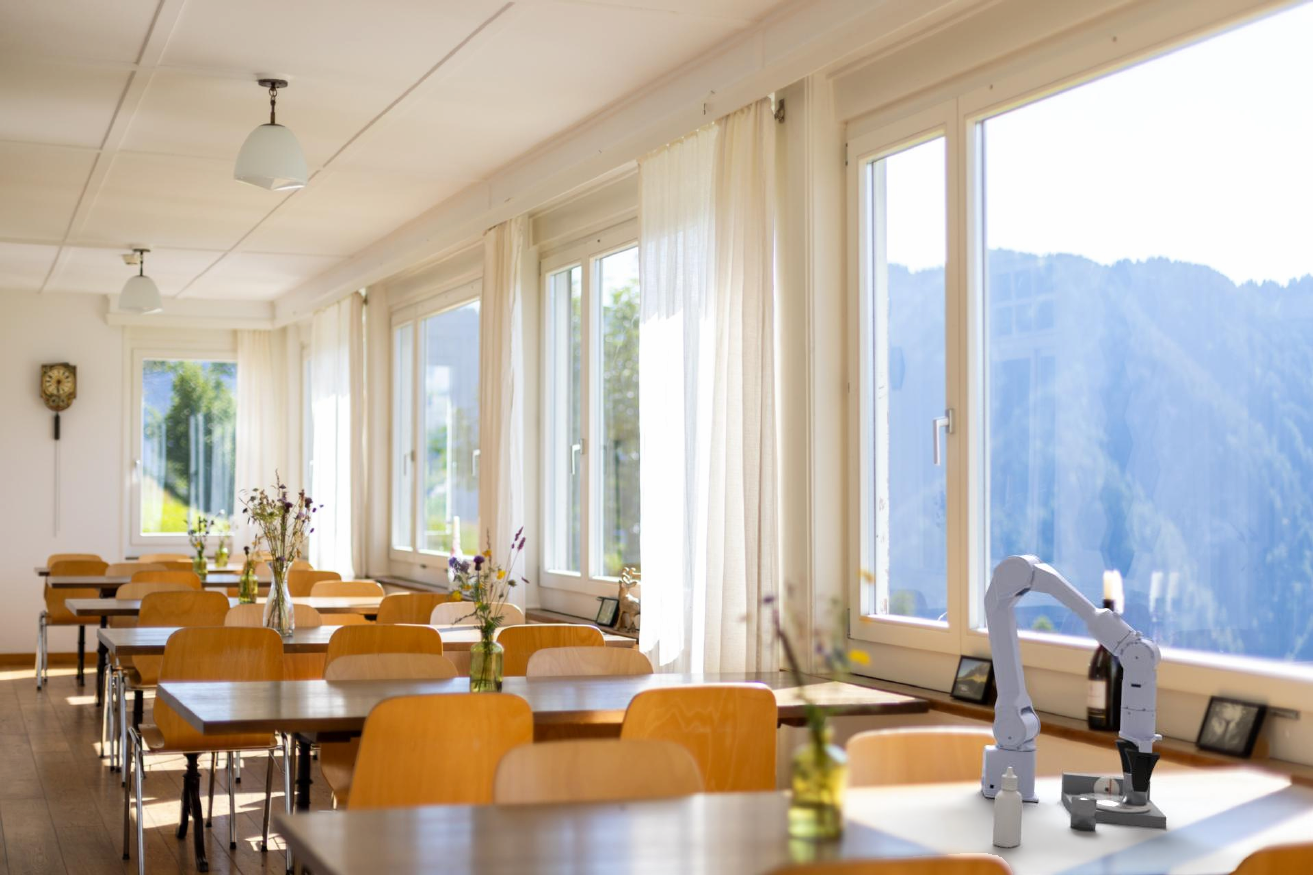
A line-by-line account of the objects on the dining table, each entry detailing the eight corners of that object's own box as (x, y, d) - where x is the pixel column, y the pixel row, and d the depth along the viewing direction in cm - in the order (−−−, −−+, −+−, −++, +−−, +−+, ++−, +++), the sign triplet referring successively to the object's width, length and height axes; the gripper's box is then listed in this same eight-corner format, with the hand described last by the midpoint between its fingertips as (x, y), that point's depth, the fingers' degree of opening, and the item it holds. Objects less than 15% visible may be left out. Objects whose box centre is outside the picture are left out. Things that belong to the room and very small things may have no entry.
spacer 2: (1125, 804, 227) (1126, 775, 227) (1120, 799, 231) (1121, 770, 231) (1149, 806, 226) (1150, 777, 226) (1143, 801, 230) (1144, 772, 230)
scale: (1074, 819, 224) (1075, 789, 224) (1061, 799, 239) (1062, 770, 239) (1166, 827, 222) (1167, 796, 222) (1146, 806, 237) (1148, 777, 237)
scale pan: (1083, 809, 224) (1084, 805, 224) (1072, 793, 236) (1072, 790, 236) (1157, 816, 222) (1157, 812, 222) (1142, 799, 234) (1142, 796, 234)
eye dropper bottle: (983, 840, 207) (986, 764, 207) (1013, 839, 209) (1017, 763, 209) (999, 848, 203) (1002, 770, 203) (1030, 847, 205) (1033, 769, 205)
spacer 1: (1072, 830, 217) (1073, 799, 217) (1068, 824, 221) (1069, 794, 221) (1097, 832, 216) (1098, 802, 216) (1093, 826, 220) (1094, 796, 220)
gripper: (1172, 717, 221) (1168, 797, 221) (1153, 703, 235) (1150, 779, 235) (1128, 713, 222) (1125, 794, 222) (1112, 700, 237) (1109, 775, 236)
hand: (1135, 786), depth 228 cm, fingers open, 7 cm apart
